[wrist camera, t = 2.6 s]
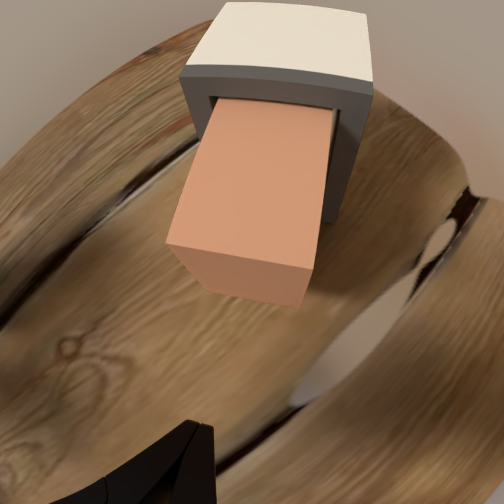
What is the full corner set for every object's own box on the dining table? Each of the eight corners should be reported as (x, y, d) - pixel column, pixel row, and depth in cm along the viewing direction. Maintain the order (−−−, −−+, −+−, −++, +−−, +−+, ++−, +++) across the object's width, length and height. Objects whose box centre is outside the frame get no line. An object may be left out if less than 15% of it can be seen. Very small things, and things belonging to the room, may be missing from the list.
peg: (299, 308, 14) (312, 269, 9) (206, 291, 15) (164, 242, 9) (323, 151, 17) (335, 68, 12) (248, 140, 18) (235, 59, 12)
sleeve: (334, 224, 19) (373, 95, 9) (221, 205, 20) (178, 77, 10) (342, 139, 21) (365, 14, 12) (245, 126, 22) (226, 2, 13)
